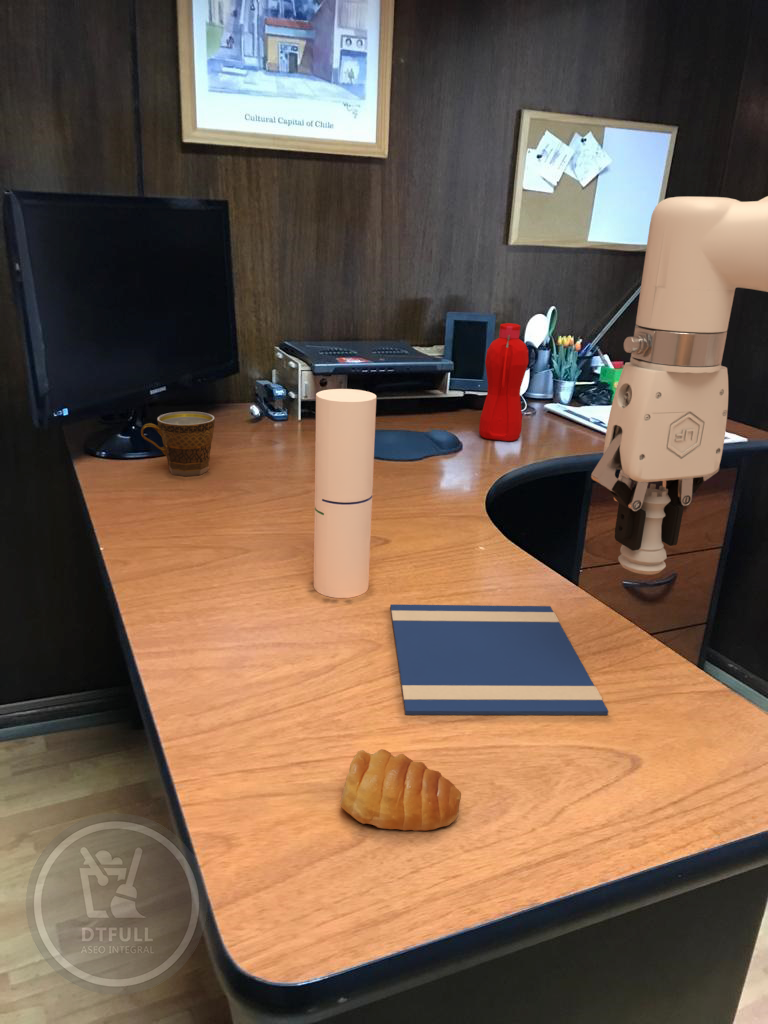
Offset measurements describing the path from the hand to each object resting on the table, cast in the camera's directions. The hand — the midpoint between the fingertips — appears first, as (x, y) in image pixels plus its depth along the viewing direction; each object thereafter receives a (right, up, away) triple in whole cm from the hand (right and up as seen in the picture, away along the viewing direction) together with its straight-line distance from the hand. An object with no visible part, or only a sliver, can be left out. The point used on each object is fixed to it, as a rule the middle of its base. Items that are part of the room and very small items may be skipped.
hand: (645, 541), depth 74 cm
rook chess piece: (0, -3, +1) cm, 3 cm away
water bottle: (+1, +19, +100) cm, 102 cm away
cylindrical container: (-31, -7, +26) cm, 41 cm away
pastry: (-24, -21, -11) cm, 34 cm away
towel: (-14, -13, +12) cm, 22 cm away
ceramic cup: (-62, +10, +67) cm, 92 cm away
